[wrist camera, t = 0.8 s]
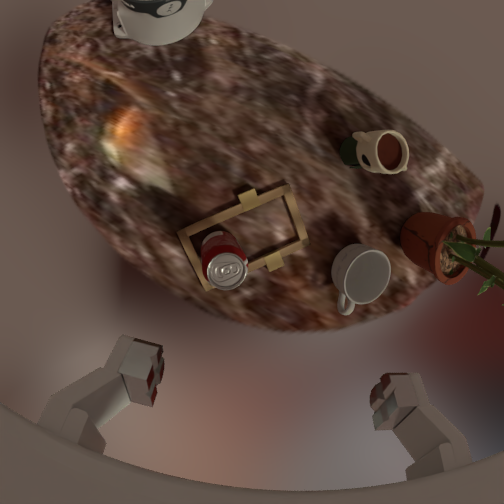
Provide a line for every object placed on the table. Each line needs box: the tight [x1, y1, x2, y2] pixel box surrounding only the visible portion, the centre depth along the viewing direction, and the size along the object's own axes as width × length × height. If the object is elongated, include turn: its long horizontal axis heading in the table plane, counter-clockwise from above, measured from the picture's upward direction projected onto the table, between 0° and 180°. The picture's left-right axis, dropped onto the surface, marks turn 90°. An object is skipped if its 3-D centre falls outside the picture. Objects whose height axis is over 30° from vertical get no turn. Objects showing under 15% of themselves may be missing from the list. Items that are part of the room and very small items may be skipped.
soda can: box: [201, 231, 248, 290], centre depth 47 cm, size 7×7×12 cm
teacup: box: [331, 244, 391, 315], centre depth 55 cm, size 14×11×8 cm
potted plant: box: [400, 212, 504, 305], centre depth 42 cm, size 17×16×35 cm
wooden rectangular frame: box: [177, 183, 310, 291], centre depth 52 cm, size 15×21×1 cm
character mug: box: [340, 130, 409, 174], centre depth 46 cm, size 11×7×13 cm, turn 63°
